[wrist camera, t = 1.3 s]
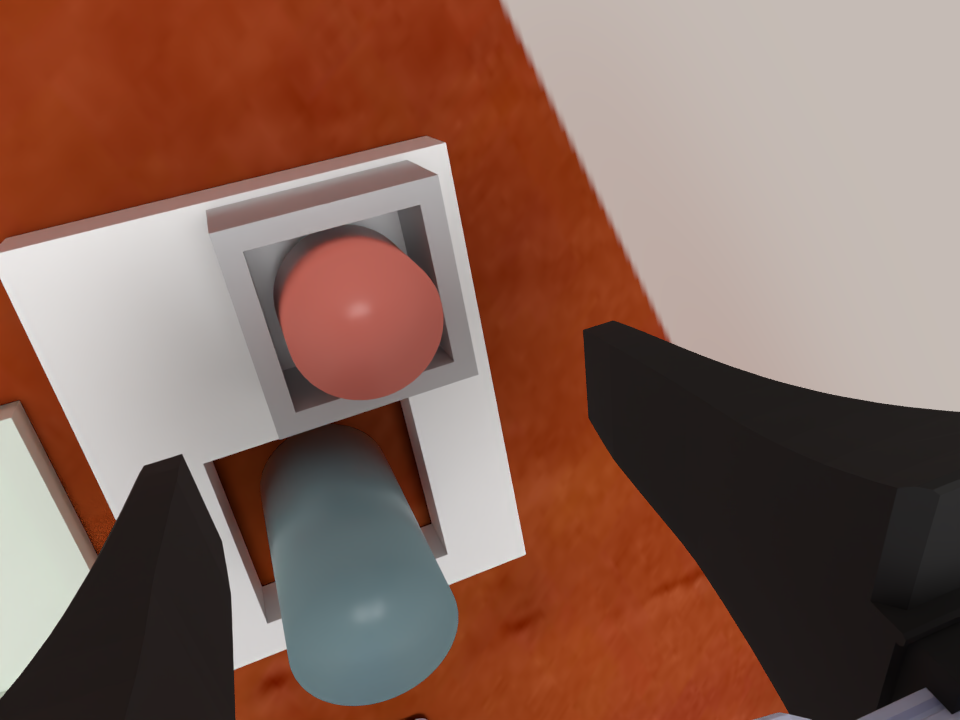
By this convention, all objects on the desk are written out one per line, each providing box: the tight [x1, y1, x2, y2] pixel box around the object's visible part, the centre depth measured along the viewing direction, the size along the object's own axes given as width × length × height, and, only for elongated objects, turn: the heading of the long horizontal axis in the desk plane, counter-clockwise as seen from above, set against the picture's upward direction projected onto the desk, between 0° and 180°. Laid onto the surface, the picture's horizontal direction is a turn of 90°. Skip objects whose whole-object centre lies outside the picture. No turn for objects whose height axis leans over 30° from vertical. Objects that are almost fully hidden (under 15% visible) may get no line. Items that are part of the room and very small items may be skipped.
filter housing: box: [0, 136, 526, 670], centre depth 23 cm, size 15×12×5 cm
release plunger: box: [273, 225, 443, 400], centre depth 19 cm, size 4×4×3 cm
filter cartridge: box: [260, 424, 458, 706], centre depth 23 cm, size 4×4×8 cm
